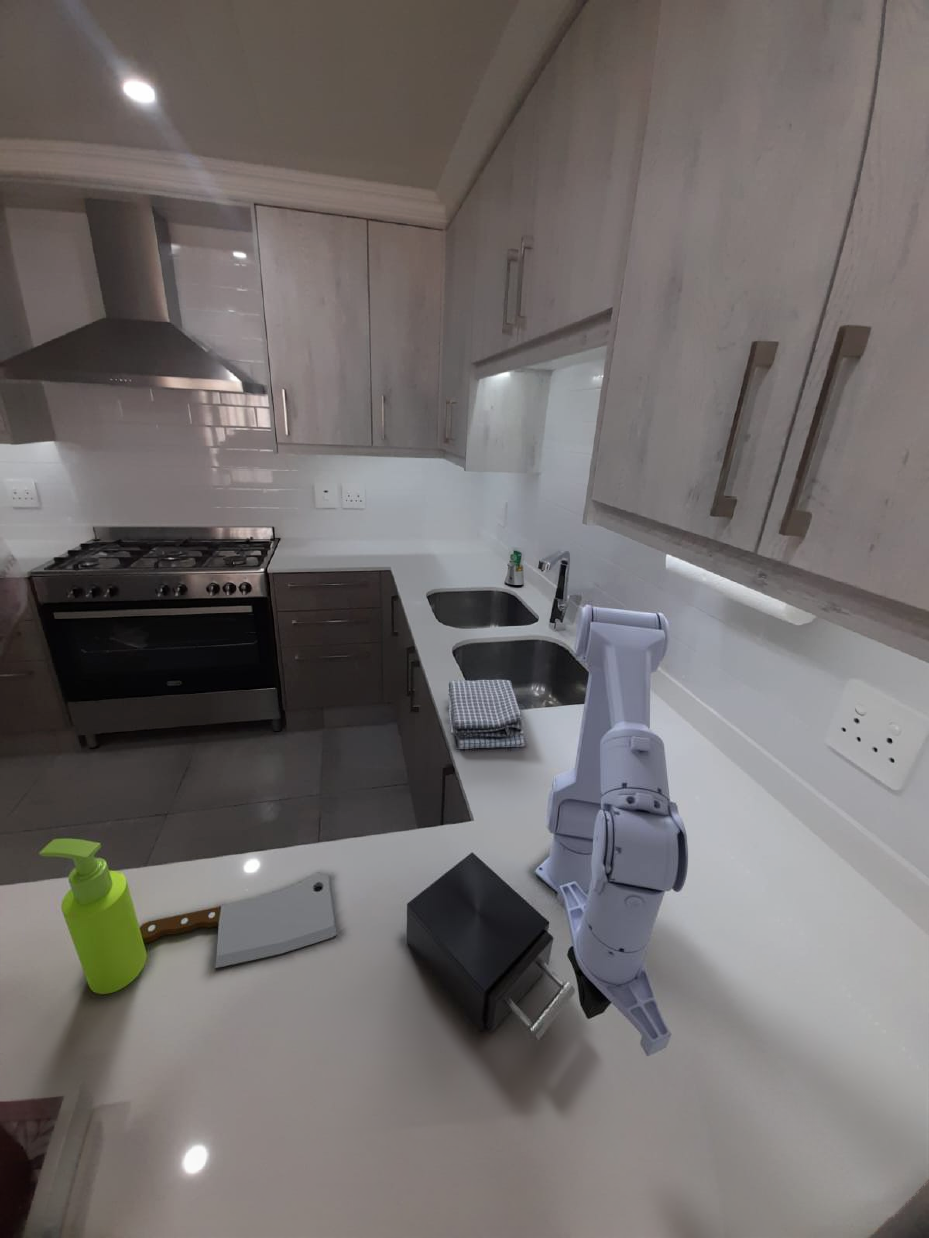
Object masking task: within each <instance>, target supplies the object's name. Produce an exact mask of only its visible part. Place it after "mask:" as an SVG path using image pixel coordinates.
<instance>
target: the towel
mask: <svg viewBox="0 0 929 1238" xmlns="http://www.w3.org/2000/svg"><path fill="white" fill-rule="evenodd" d="M448 718H449V725H450V734H451V735H452V736H453V737H455V738H456V740H457V746H458V749H459V750H463V749H465V750H468V749H471V750H472V749H484V748H485V749H489V748H490V749H491V748H492V749H493V748H510V747H512V748H513V747H516V748H519V747H520V748H523V747H525V745H526V744H525V739H524V734H525V733H524V730H523V723H522V721H523V720H524V718H523V716H522V712H521V710H520V707H519V704H518V700H517V696H516V693H515V690H514V687H513V683H512V680H509V679H508V680H507V679H478V680H450V681H449V683H448Z"/></svg>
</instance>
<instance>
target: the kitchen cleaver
mask: <svg viewBox="0 0 929 1238" xmlns="http://www.w3.org/2000/svg"><path fill="white" fill-rule="evenodd" d="M319 887H321V888H322V889H321V890H319V891H315V889H316V888H319ZM330 888H331V886H330V879H329V875H327V874H325V873H322V872H319V871H318V872H317V873H314V874H313V875H311V876H310V877H308V878H306V879H304V880H302V881H300V882H298V883H296V884H293V885H290V886H288V887H286V888H285V887H284V888H283V889H280V890H277V891H274V892H270V893H267V894H264V895H261V896H258V897H254V898H250V899H246V900H241V901H237V902H232V903H228V904H225V905H219V906H216V907H210V908H205V909H201V910H197V911H192V912H188V913H182V914H177V915H173V916H169V917H163V918H159V919H154V920H150V921H147V922H145V923H143V924H142V925H140V926H139V928H140V932H141V935H142V939H143V942H144V944H146V943H152V942H155V940H158V939H159V938H161V937H162V936H167V935H173V936H175V935H179V934H182V933H188V932H191V931H194V930H196V929H199V928H202V927H203V928H208V929H211V928H216V927H217V928H218V929H217V944H216V958H215V964H214V969H219V968H223V967H227V966H232V965H237V964H241V963H246V962H251V961H256V960H259V959H264V958H269V957H272V956H277V955H282V954H286V953H288V952H292V951H295V950H298V949H301V948H304V947H308V946H311V945H313V944H317V943H320V942H323V941H327V940H330V939H332V938H334V937H336V936H337V935H338V933H337V927H336V925H335V918H334V917H335V916H334V909H333V902H332V901H333V900H332V894H331V893H332V892H331V889H330Z"/></svg>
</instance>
